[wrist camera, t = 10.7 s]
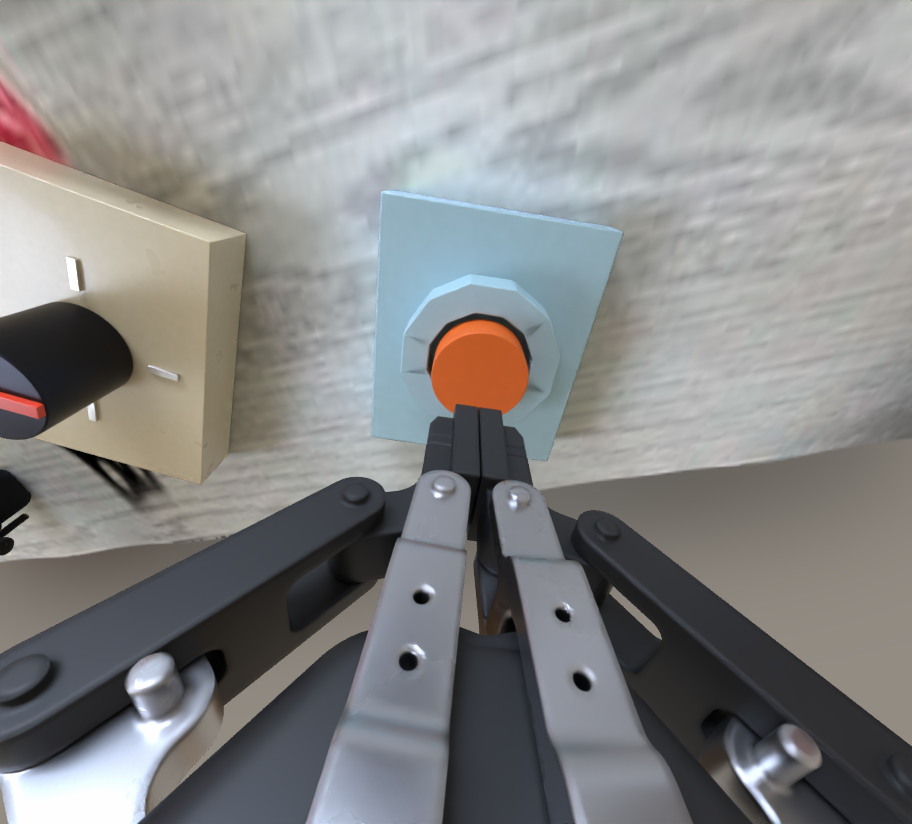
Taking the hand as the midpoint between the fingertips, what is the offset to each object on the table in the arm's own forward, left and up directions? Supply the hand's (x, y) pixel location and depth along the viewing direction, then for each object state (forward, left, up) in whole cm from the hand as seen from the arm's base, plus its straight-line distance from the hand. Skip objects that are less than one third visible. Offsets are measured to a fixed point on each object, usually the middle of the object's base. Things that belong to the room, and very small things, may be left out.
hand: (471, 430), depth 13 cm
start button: (0, 0, -5) cm, 5 cm away
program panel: (+2, -18, -9) cm, 20 cm away
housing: (0, 0, -9) cm, 9 cm away
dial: (+2, -18, -6) cm, 19 cm away
